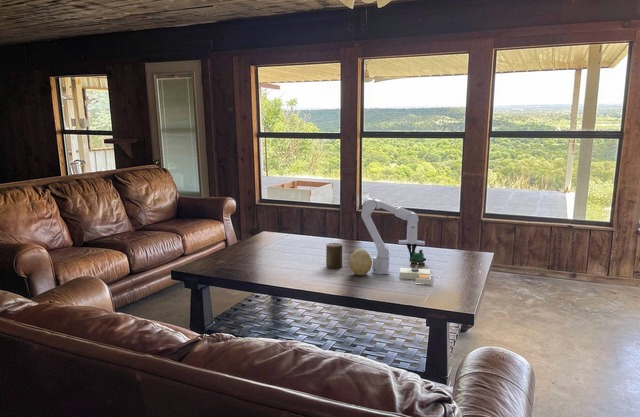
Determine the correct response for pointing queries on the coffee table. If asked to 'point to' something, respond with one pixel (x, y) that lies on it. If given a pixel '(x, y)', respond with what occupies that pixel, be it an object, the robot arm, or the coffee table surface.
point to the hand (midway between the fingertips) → (411, 256)
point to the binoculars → (417, 259)
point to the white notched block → (415, 274)
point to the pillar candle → (334, 255)
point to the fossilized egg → (360, 262)
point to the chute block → (424, 276)
